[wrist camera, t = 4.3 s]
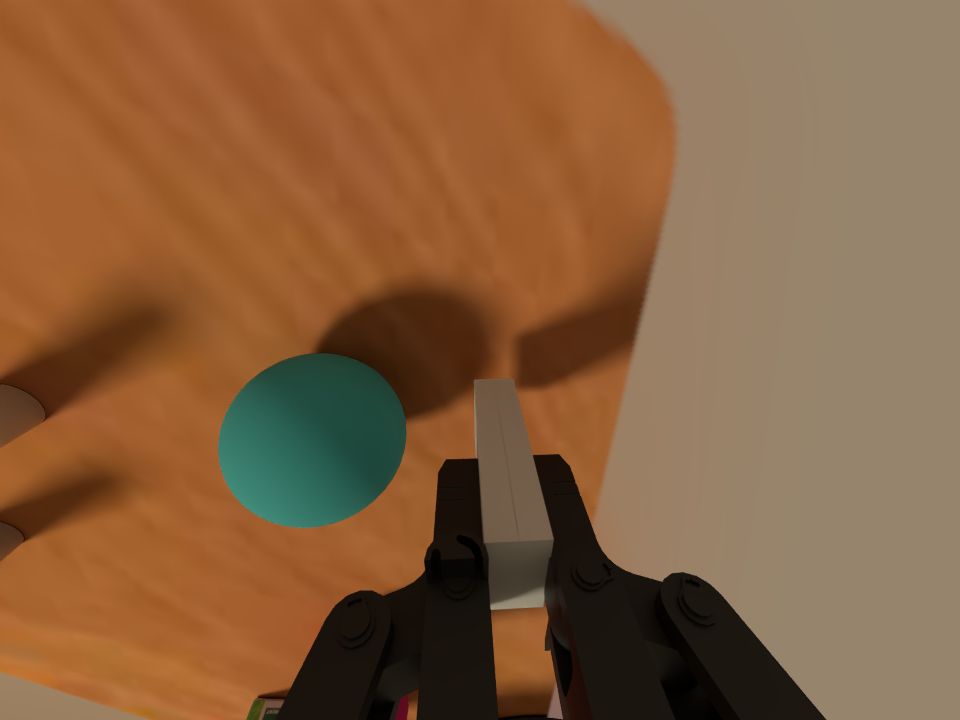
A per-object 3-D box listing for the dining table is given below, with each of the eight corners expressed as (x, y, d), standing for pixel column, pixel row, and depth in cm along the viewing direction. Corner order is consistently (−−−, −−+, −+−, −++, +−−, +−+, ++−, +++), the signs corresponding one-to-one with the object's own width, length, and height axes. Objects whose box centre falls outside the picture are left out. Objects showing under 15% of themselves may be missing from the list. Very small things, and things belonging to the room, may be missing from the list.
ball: (421, 438, 17) (404, 561, 12) (295, 445, 17) (219, 573, 11) (405, 323, 14) (372, 417, 9) (252, 330, 14) (122, 430, 8)
